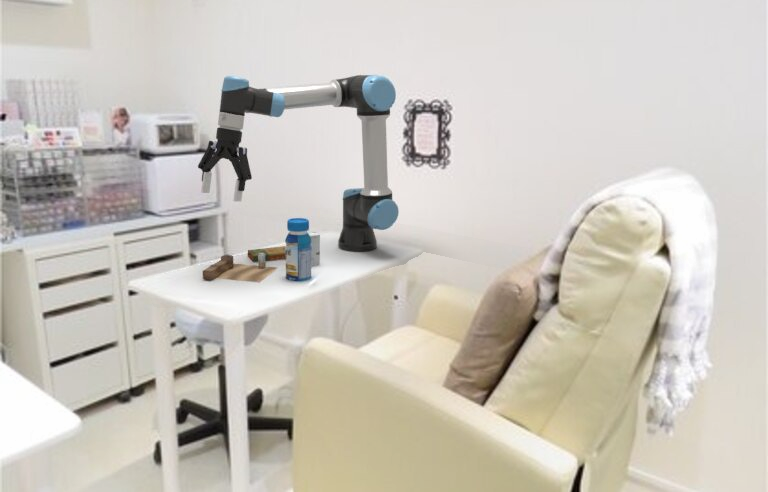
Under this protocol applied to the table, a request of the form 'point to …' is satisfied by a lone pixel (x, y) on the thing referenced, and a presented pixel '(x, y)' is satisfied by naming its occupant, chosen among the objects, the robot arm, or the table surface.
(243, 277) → the frame board
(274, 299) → the table surface
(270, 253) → the carton
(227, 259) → the leg bar
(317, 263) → the skincare box
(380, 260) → the table surface
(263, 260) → the stop peg
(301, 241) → the beverage bottle
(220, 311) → the table surface
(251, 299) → the table surface
